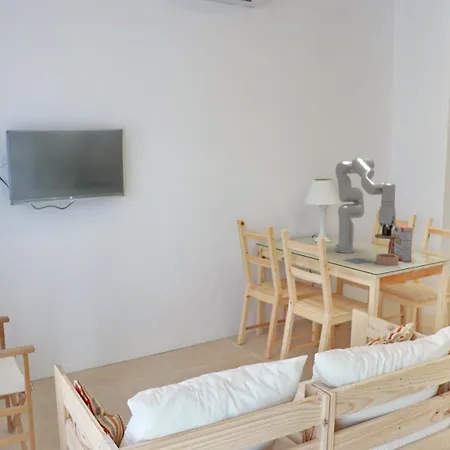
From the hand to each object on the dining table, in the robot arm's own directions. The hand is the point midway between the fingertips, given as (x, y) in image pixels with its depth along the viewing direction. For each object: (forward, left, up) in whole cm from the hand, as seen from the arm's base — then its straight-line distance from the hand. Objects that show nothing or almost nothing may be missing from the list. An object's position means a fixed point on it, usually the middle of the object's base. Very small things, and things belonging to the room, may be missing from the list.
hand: (386, 234), depth 322 cm
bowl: (+1, +1, -18) cm, 18 cm away
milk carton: (-16, +24, -18) cm, 34 cm away
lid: (0, 0, -1) cm, 1 cm away
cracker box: (-5, +18, -18) cm, 26 cm away
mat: (-11, -11, -18) cm, 24 cm away
